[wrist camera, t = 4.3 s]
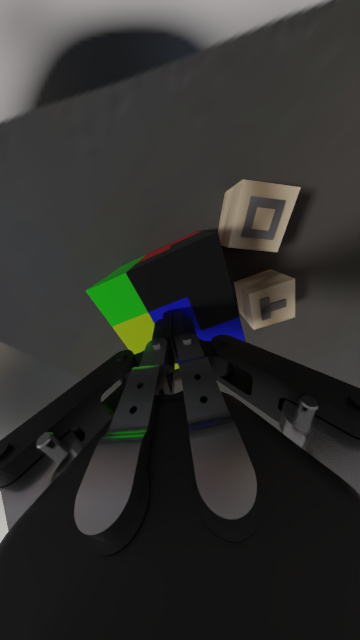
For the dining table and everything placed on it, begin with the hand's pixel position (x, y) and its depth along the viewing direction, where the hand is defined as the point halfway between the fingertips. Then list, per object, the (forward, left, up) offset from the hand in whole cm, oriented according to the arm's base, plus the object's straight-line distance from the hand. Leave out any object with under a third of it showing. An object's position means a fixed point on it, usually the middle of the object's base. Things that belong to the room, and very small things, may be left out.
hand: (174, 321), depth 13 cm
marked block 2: (-11, +3, -10) cm, 15 cm away
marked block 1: (-9, -6, -10) cm, 15 cm away
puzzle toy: (0, 0, -10) cm, 10 cm away
